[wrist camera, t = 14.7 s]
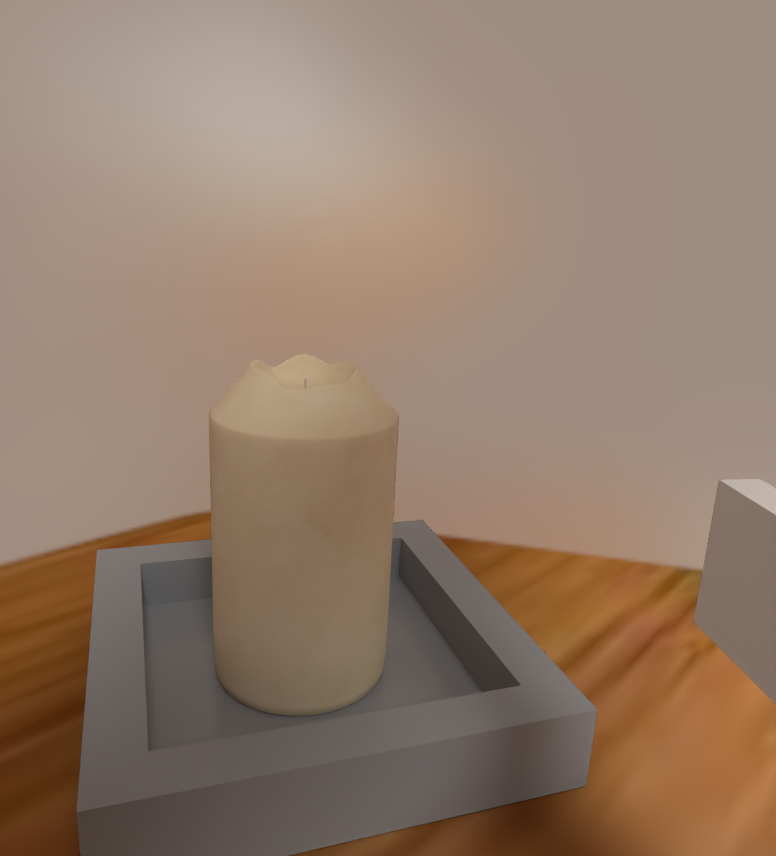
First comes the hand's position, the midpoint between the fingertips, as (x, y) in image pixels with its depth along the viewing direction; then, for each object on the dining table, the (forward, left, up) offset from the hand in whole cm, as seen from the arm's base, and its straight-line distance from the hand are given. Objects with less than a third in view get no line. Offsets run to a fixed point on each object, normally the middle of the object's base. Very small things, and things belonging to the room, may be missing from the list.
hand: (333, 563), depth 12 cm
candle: (-2, -10, -9) cm, 14 cm away
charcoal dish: (-2, -10, -10) cm, 14 cm away
